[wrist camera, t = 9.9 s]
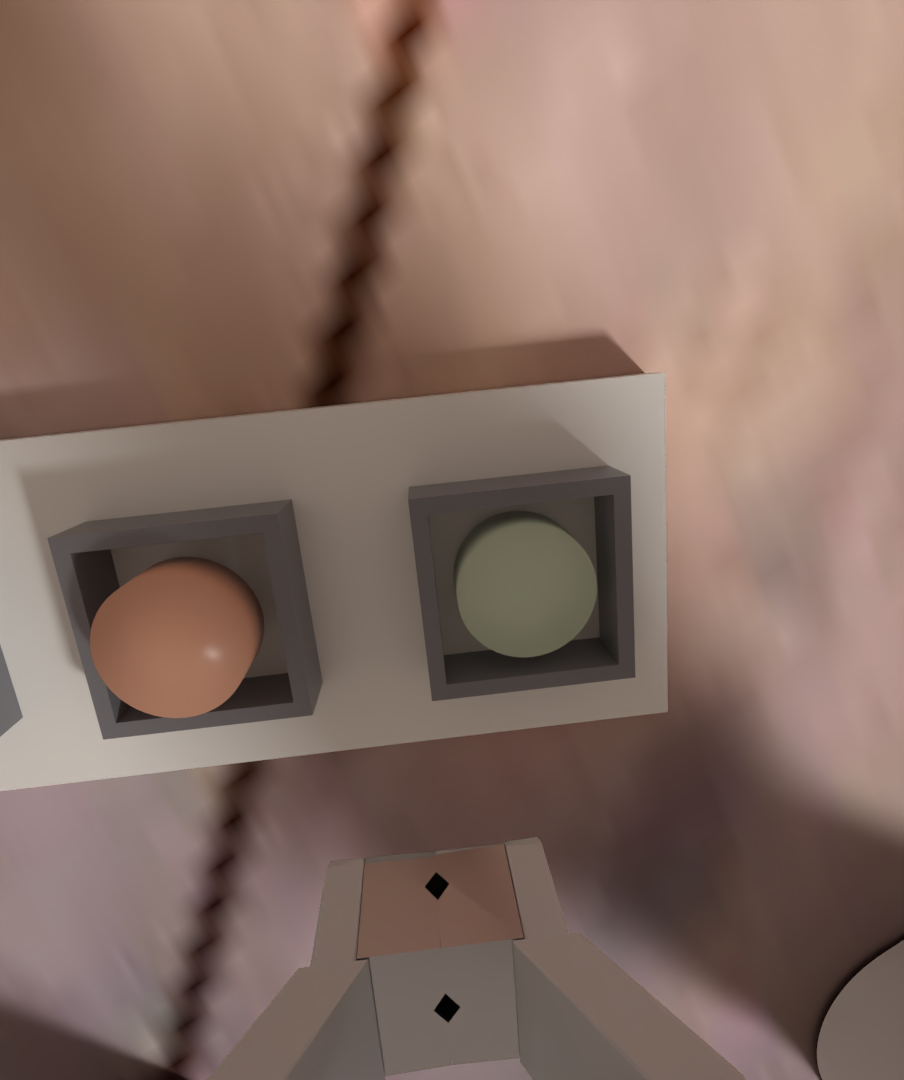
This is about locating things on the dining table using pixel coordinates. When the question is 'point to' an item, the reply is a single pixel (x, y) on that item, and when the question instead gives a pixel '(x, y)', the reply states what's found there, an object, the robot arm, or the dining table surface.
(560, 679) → the console
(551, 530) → the sage button
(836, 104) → the dining table surface
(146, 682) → the terracotta button
